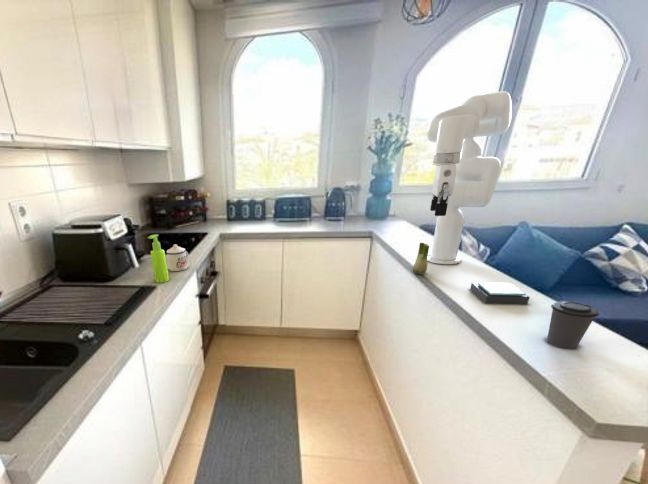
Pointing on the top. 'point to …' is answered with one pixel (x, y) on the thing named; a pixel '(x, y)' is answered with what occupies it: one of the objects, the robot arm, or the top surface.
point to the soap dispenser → (158, 261)
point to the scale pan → (501, 289)
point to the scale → (497, 296)
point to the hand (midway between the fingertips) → (437, 213)
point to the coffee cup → (569, 323)
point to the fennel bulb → (421, 259)
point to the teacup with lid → (177, 258)
